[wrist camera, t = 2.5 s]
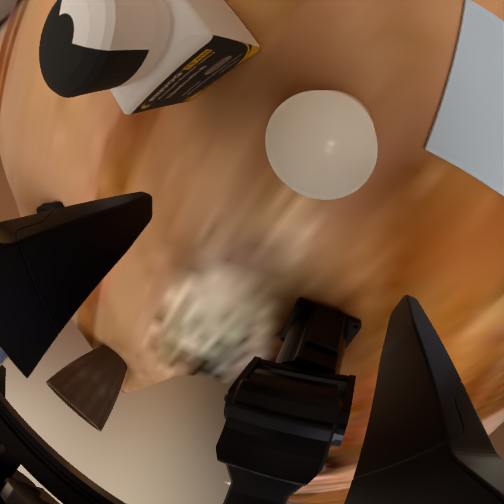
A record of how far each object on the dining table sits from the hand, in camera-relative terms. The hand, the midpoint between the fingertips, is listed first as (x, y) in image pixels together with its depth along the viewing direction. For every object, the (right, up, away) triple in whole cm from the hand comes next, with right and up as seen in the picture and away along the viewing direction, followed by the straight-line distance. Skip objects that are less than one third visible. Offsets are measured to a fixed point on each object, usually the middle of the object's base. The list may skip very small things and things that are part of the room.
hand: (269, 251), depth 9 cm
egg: (+5, +8, +8) cm, 12 cm away
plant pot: (-31, -23, +46) cm, 60 cm away
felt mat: (+17, +9, +2) cm, 19 cm away
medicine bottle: (-4, +15, +8) cm, 18 cm away
